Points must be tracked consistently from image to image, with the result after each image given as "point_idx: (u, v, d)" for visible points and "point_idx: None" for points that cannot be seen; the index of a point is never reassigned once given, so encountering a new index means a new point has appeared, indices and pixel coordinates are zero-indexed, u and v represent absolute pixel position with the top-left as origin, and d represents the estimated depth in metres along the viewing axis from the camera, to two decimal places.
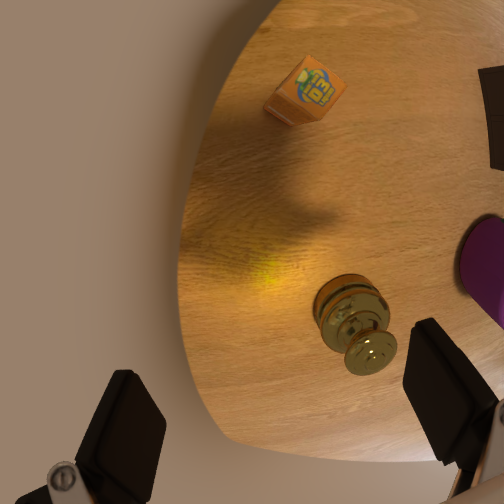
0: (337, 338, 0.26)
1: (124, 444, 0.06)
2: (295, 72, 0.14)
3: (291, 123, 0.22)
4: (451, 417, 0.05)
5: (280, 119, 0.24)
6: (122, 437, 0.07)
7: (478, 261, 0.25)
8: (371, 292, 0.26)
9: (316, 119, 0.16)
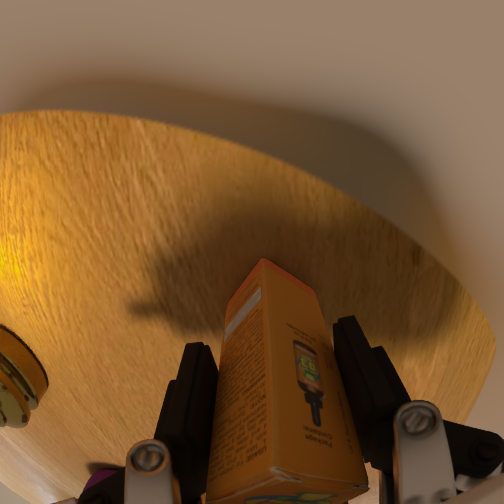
0: None
1: (206, 415, 0.07)
2: (328, 486, 0.05)
3: (226, 326, 0.12)
4: (358, 413, 0.07)
5: (238, 289, 0.13)
6: (204, 407, 0.07)
7: None
8: (25, 413, 0.13)
9: (207, 495, 0.05)
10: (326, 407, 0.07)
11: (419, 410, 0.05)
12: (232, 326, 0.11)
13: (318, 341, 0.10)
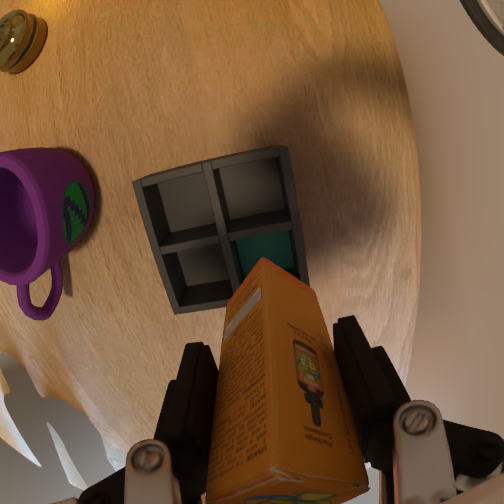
0: None
1: (206, 415, 0.07)
2: (329, 485, 0.05)
3: (226, 326, 0.12)
4: (358, 413, 0.07)
5: (238, 289, 0.13)
6: (204, 407, 0.07)
7: (36, 148, 0.20)
8: (24, 34, 0.16)
9: (207, 495, 0.05)
10: (326, 407, 0.07)
11: (419, 410, 0.05)
12: (232, 326, 0.11)
13: (318, 341, 0.10)
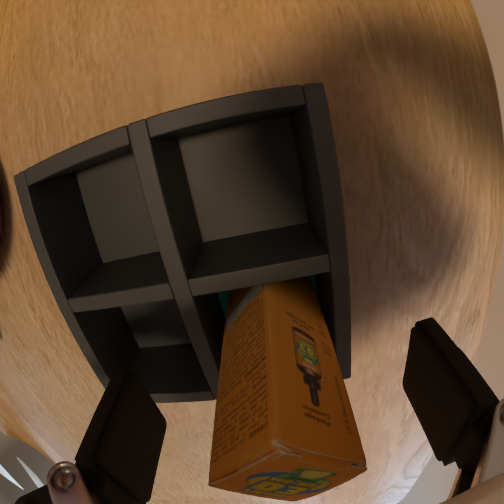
0: None
1: (124, 444, 0.06)
2: (327, 463, 0.05)
3: (228, 317, 0.12)
4: (451, 417, 0.05)
5: None
6: (122, 437, 0.07)
7: None
8: None
9: (210, 476, 0.06)
10: (324, 389, 0.07)
11: None
12: (233, 316, 0.12)
13: (316, 329, 0.10)
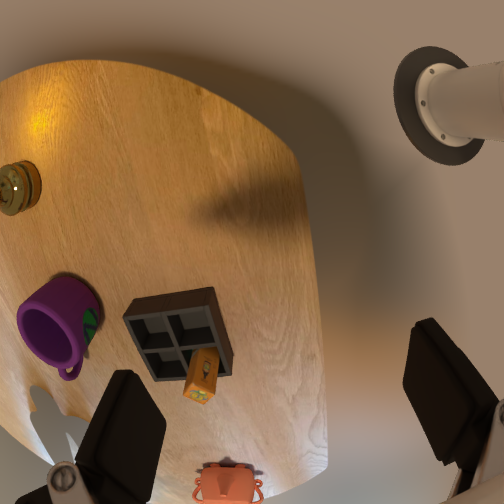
0: None
1: (124, 444, 0.06)
2: (204, 389, 0.32)
3: (192, 354, 0.39)
4: (451, 417, 0.05)
5: None
6: (122, 437, 0.07)
7: (56, 284, 0.34)
8: (24, 194, 0.30)
9: (183, 393, 0.33)
10: (208, 376, 0.34)
11: None
12: (193, 354, 0.39)
13: (213, 360, 0.37)
